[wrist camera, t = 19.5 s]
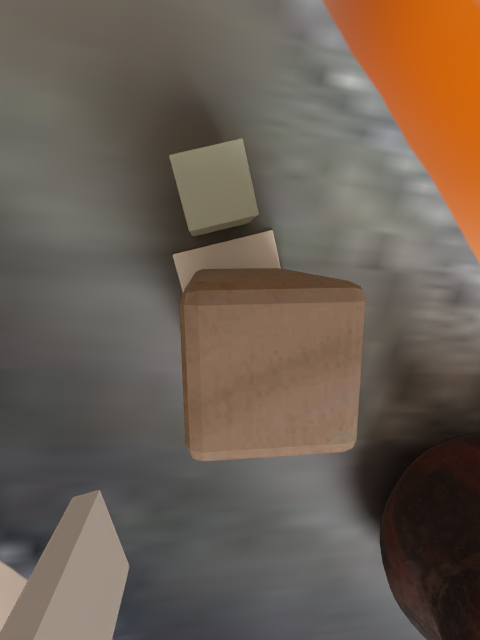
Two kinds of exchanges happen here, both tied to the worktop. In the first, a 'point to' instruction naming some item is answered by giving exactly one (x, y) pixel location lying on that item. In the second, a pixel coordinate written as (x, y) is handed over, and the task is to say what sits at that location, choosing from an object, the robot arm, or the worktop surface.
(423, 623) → the jug
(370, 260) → the worktop surface
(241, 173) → the sage block
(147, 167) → the worktop surface
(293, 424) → the wooden block
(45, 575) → the robot arm
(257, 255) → the letter
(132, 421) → the worktop surface
